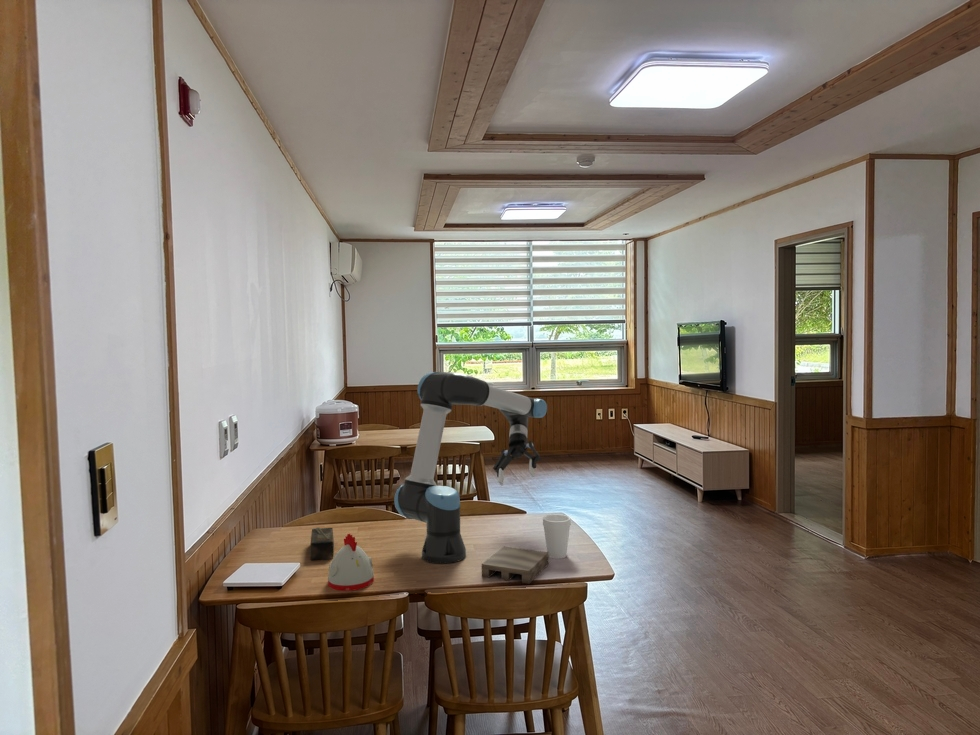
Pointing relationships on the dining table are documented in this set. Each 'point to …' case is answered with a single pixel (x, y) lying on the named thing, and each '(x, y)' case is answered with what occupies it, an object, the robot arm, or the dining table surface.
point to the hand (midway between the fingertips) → (515, 479)
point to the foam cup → (556, 534)
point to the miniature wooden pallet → (516, 563)
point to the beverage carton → (322, 544)
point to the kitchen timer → (350, 567)
